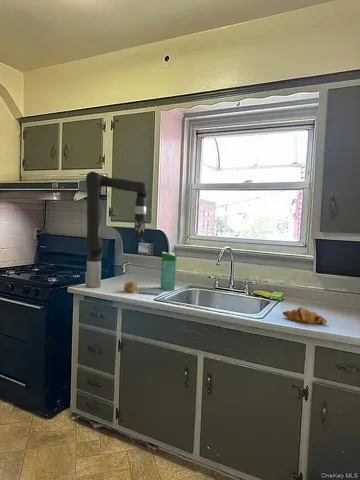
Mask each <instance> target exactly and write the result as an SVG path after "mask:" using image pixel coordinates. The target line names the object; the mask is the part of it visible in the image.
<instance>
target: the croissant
mask: <svg viewBox="0 0 360 480" xmlns="http://www.w3.org/2000/svg"><path fill="white" fill-rule="evenodd" d="M282 315H283V317H286V318H287V319H289V320H291V321H294V322H297V321H298V322H297V323H302V322H304V323H303V324H313V323H318V324H320V325H325V324H326V323H328V321H327V319H325V318H324V317H323V316H322V315H319V314H318V313H316V312H315V311H310V310H308V309H307V308H306V307H298V308H297V309H292V310H286V311H282Z"/></svg>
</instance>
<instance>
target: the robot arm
mask: <svg viewBox="0 0 360 480" xmlns="http://www.w3.org/2000/svg"><path fill="white" fill-rule="evenodd" d="M85 185H86V195H87V196H86V227H87V228H86V229H87V230H86V239H85V246H86V248H87V249H88V253H87V254H88V255H87V257H86V271H85V274H84V278H85V279H84V281H85V282H84V286H85V287H87V288H94V289H95V288H100V287H101V282H102V281H101V280H102V258H103V252H104V250H103V249H104V248H103V246H104V241H103V239H102V238H101V237H99V228H100V224H101V220H102V203H101V199H100V194H99V189H100V188H99V187H103V188H104V187H105V188H112V189H115V190H120V191H126V192H135V193H136V198H135V207H134V221H136V222H135V223H134V232H135V239H139V238H141V239H143V238H144V233H145V231H146V222H145V221H147V196H148V191H149V190H148V185H147V183H145V182H142V181H133V180H130V179H123V178H116V177H108V176H104V175H102V174H100V173H98V172H96V171H90V172H88V173H87V174H86V178H85Z"/></svg>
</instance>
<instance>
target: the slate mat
mask: <svg viewBox="0 0 360 480" xmlns="http://www.w3.org/2000/svg"><path fill="white" fill-rule="evenodd" d="M163 292H164V290H162V289H161V288H149V287H144V288H142V289H140V290H139V291H138V292H137V294H139V295H149V296H150V295H151V296H152V295H153V296H159V295H161V294H162V293H163Z"/></svg>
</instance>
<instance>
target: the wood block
mask: <svg viewBox="0 0 360 480" xmlns="http://www.w3.org/2000/svg"><path fill="white" fill-rule="evenodd" d="M137 285H138V282H137V281H126V282H124V286H123V288H124V290H123V293H126V294H134V293H137V288H138V287H137Z"/></svg>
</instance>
